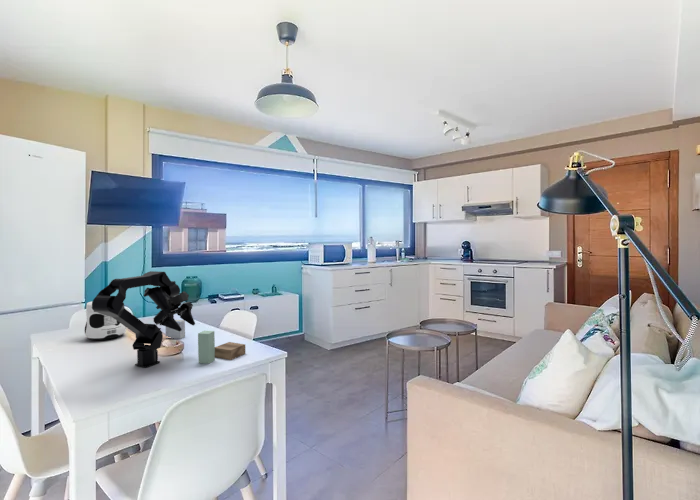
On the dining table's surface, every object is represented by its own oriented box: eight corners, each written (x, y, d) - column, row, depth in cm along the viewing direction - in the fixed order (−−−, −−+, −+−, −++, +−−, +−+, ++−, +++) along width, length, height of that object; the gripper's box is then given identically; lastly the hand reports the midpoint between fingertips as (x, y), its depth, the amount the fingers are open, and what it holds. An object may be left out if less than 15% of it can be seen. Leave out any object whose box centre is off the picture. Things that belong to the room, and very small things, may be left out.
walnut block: (230, 359, 151) (230, 350, 151) (214, 356, 155) (213, 347, 155) (245, 353, 160) (245, 344, 159) (229, 350, 163) (229, 341, 163)
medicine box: (185, 336, 186) (185, 319, 186) (180, 339, 182) (180, 321, 182) (170, 336, 187) (170, 319, 187) (165, 338, 183) (165, 321, 182)
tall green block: (208, 363, 147) (208, 333, 146) (198, 363, 148) (198, 333, 147) (214, 360, 151) (214, 331, 151) (204, 359, 152) (204, 330, 152)
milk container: (101, 332, 194) (100, 298, 193) (133, 333, 193) (133, 298, 192) (75, 342, 177) (74, 304, 176) (111, 342, 176) (110, 305, 175)
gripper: (159, 289, 141) (186, 319, 140) (188, 283, 159) (212, 309, 158) (141, 309, 143) (168, 339, 142) (172, 300, 161) (196, 326, 160)
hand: (187, 327), depth 150 cm, fingers open, 9 cm apart
